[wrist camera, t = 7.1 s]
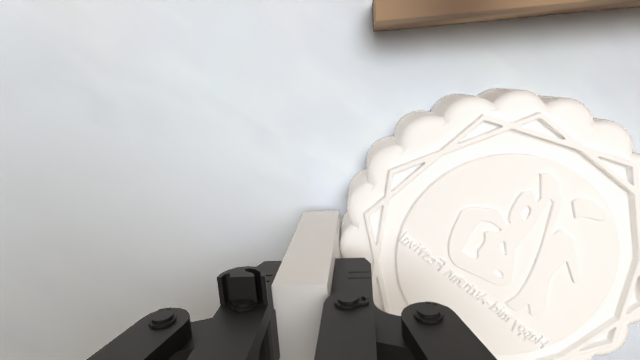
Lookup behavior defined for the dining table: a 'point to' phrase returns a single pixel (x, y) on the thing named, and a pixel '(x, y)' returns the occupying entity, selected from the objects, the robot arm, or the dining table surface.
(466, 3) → the wooden u-shaped frame
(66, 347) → the dining table surface
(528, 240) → the mooncake
